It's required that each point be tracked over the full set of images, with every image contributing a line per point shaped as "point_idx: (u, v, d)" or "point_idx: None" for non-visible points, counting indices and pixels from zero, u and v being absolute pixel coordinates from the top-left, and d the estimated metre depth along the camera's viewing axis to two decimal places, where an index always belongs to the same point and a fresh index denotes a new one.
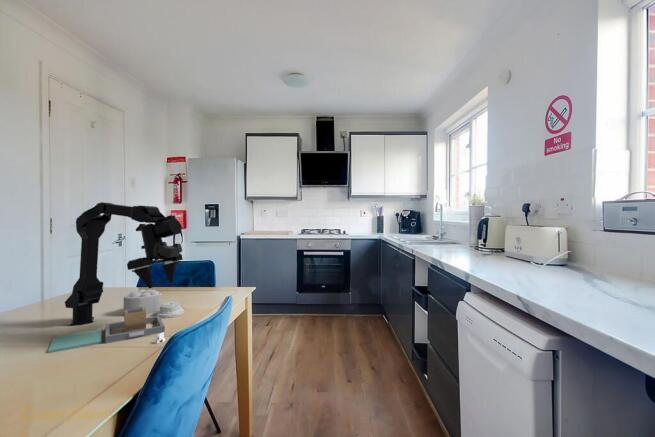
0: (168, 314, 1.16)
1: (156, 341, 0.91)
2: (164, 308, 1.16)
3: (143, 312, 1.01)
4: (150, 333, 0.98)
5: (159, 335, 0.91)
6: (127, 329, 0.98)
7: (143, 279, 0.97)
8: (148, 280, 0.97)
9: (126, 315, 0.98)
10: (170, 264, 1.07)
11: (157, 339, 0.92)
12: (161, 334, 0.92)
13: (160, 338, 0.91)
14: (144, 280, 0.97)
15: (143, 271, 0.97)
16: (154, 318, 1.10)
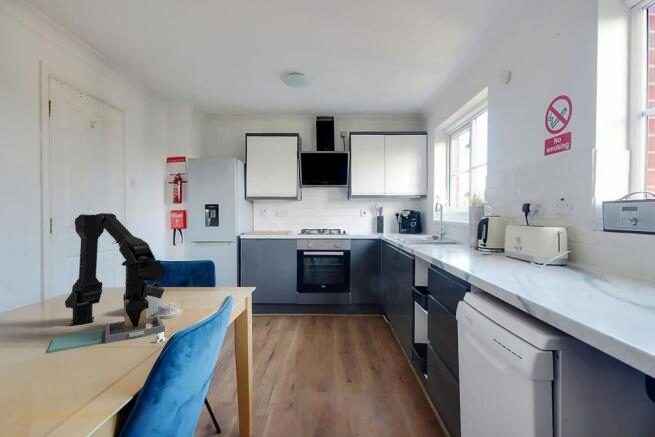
0: (166, 315, 1.15)
1: (156, 341, 0.91)
2: (162, 309, 1.15)
3: (143, 312, 1.01)
4: (150, 333, 0.98)
5: (159, 335, 0.92)
6: (127, 329, 0.98)
7: (132, 318, 0.98)
8: (137, 319, 0.99)
9: (126, 315, 0.98)
10: None
11: (157, 339, 0.92)
12: (161, 334, 0.92)
13: (160, 338, 0.92)
14: (132, 319, 0.98)
15: (134, 310, 0.98)
16: (154, 318, 1.10)
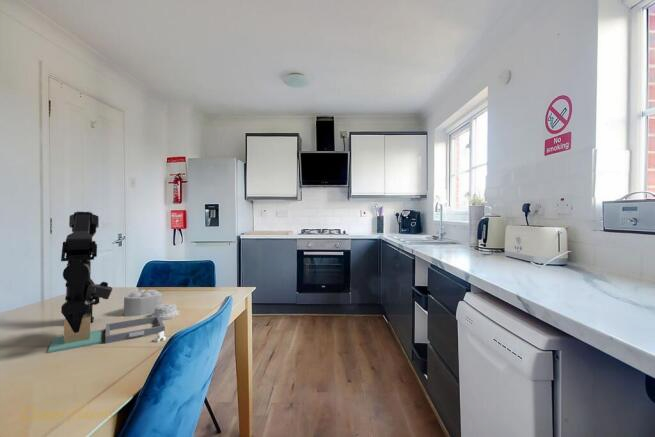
0: (163, 316, 1.13)
1: (157, 340, 0.92)
2: (159, 310, 1.14)
3: (86, 318, 0.92)
4: (150, 333, 0.98)
5: (160, 334, 0.93)
6: (67, 337, 0.89)
7: (71, 323, 0.87)
8: (78, 324, 0.88)
9: (66, 322, 0.89)
10: None
11: (157, 338, 0.93)
12: (161, 333, 0.93)
13: (161, 337, 0.93)
14: (72, 324, 0.87)
15: (74, 314, 0.88)
16: (154, 318, 1.10)
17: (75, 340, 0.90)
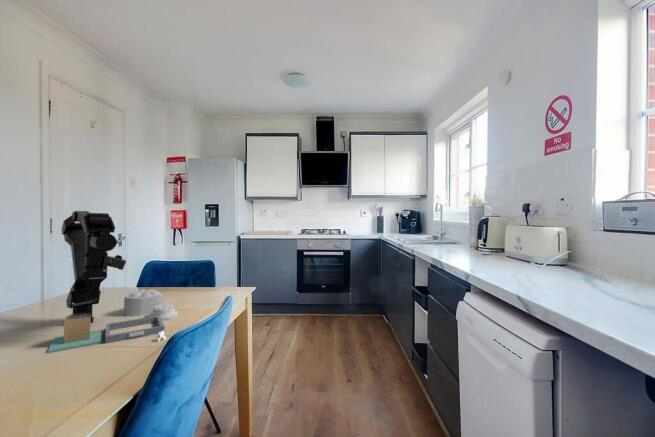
0: (161, 317, 1.12)
1: (157, 339, 0.92)
2: (157, 310, 1.13)
3: (86, 318, 0.92)
4: (150, 333, 0.98)
5: (160, 333, 0.93)
6: (67, 337, 0.89)
7: (90, 289, 0.96)
8: (97, 290, 0.97)
9: (66, 322, 0.89)
10: None
11: (158, 337, 0.93)
12: (162, 332, 0.94)
13: (161, 336, 0.93)
14: (91, 290, 0.96)
15: (93, 281, 0.96)
16: (154, 318, 1.10)
17: (75, 340, 0.90)
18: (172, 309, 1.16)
